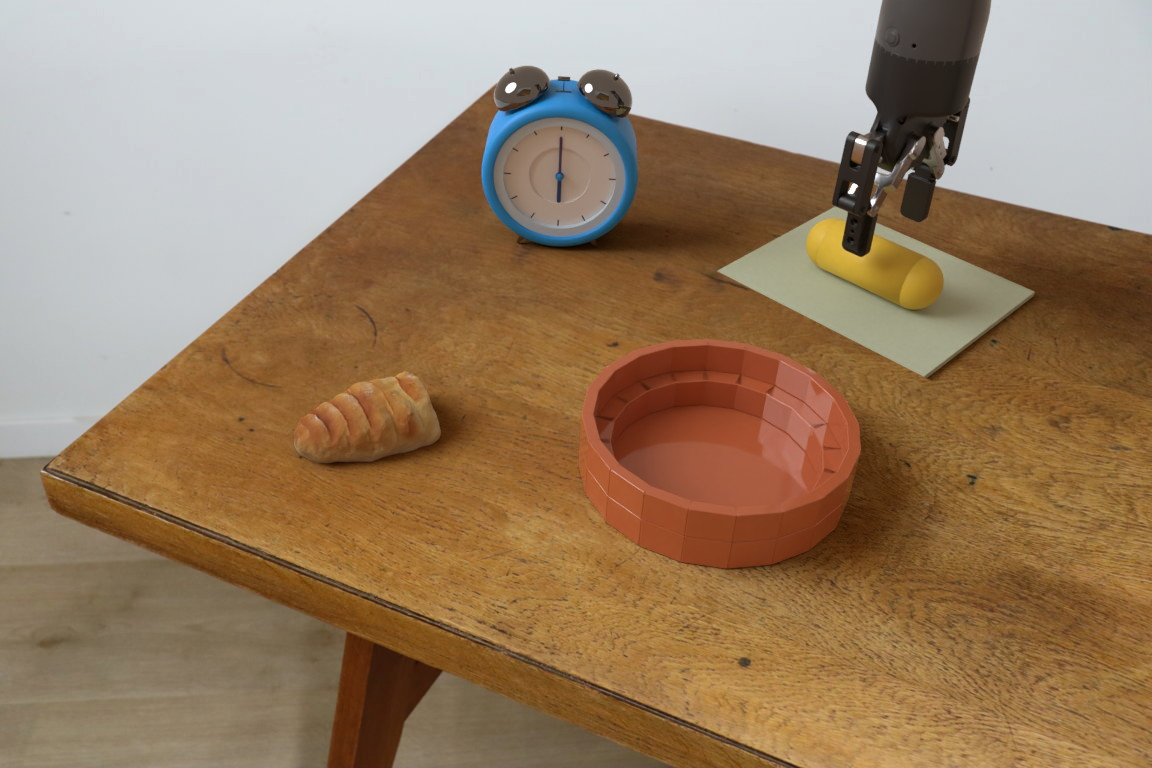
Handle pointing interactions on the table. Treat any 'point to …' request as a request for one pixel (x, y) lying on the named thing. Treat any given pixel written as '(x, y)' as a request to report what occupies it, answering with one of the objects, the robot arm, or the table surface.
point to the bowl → (717, 452)
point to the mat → (882, 299)
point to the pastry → (369, 422)
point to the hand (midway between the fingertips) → (884, 234)
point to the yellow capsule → (877, 266)
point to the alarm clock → (560, 155)
